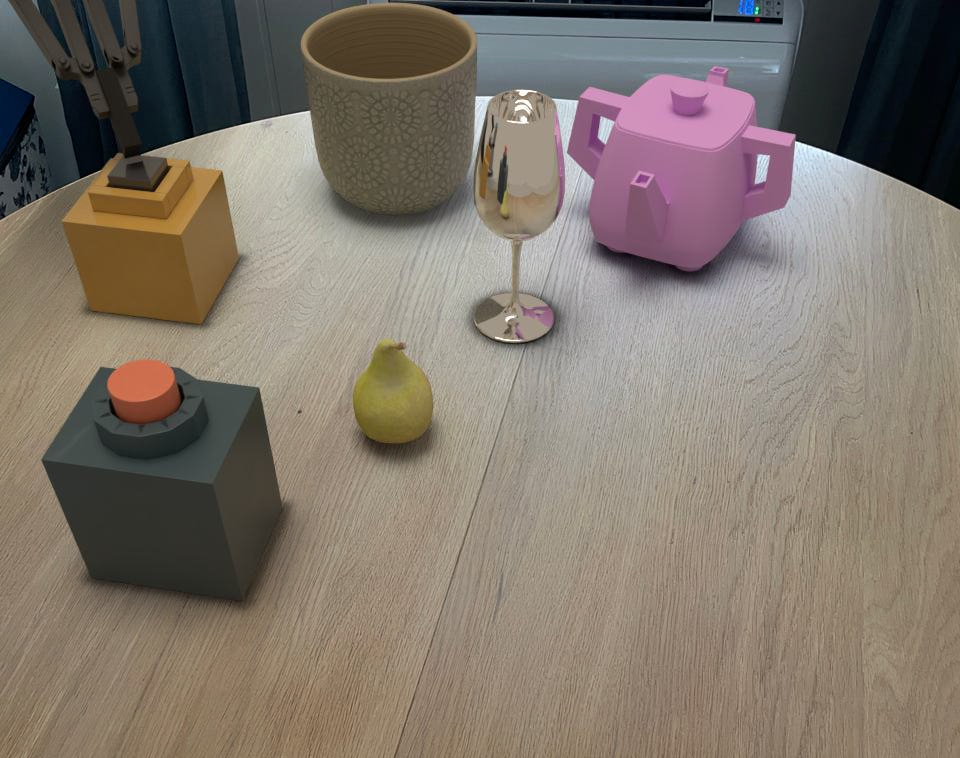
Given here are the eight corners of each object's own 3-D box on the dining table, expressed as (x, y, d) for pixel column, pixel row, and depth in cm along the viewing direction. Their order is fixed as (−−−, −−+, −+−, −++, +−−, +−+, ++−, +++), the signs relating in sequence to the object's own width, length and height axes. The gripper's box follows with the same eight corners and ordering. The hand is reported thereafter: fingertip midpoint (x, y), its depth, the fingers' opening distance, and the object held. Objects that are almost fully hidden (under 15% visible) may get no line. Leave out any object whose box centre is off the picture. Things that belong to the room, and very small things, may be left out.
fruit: (418, 399, 94) (412, 279, 85) (449, 453, 90) (447, 333, 80) (345, 418, 92) (331, 297, 83) (374, 474, 88) (362, 354, 79)
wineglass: (455, 317, 101) (452, 103, 86) (515, 284, 105) (523, 73, 89) (511, 356, 98) (520, 140, 82) (572, 321, 101) (591, 108, 85)
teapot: (704, 174, 118) (730, 27, 106) (794, 263, 107) (834, 111, 95) (543, 209, 113) (552, 60, 101) (621, 305, 103) (641, 152, 91)
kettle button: (111, 194, 95) (106, 175, 94) (129, 171, 98) (124, 152, 96) (154, 199, 95) (150, 180, 94) (171, 176, 97) (166, 157, 96)
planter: (308, 232, 110) (288, 78, 98) (328, 148, 120) (312, -1, 108) (473, 236, 110) (473, 82, 98) (479, 152, 120) (480, 3, 108)
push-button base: (90, 310, 102) (55, 202, 93) (134, 246, 108) (105, 139, 100) (201, 324, 100) (176, 215, 92) (239, 258, 107) (218, 151, 98)
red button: (104, 421, 72) (96, 396, 70) (129, 379, 74) (122, 355, 73) (167, 429, 71) (160, 405, 70) (190, 387, 74) (184, 363, 72)
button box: (90, 577, 81) (30, 436, 70) (140, 486, 87) (92, 343, 76) (242, 601, 80) (206, 461, 69) (282, 507, 86) (255, 364, 75)
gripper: (103, -119, 95) (201, 149, 100) (-48, -95, 92) (60, 183, 96) (103, -174, 88) (208, 118, 93) (-61, -150, 85) (57, 153, 89)
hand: (133, 151), depth 94 cm, fingers closed
